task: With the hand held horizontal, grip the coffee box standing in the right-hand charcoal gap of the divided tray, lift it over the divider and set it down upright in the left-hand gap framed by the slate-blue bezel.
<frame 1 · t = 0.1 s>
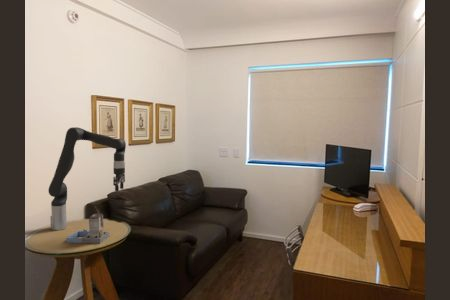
hand: (119, 189, 214), 29 cm above the table, tool pointing down, fingers open, 8 cm apart
divided tray: (89, 239, 199), on the table
coffee box: (96, 239, 198), resting in divided tray
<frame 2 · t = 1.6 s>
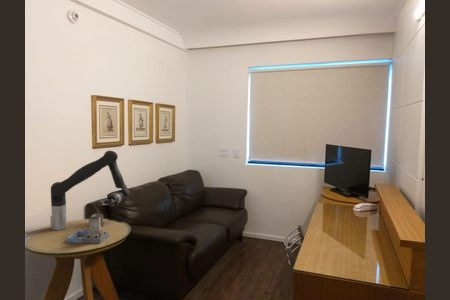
hand: (103, 205, 208), 20 cm above the table, tool horizontal, fingers open, 8 cm apart
nothing on the table moved.
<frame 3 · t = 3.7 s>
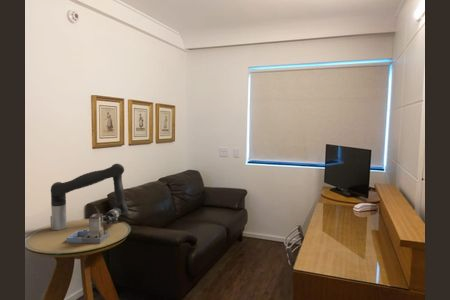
hand: (101, 222, 204), 9 cm above the table, tool horizontal, fingers open, 8 cm apart
nothing on the table moved.
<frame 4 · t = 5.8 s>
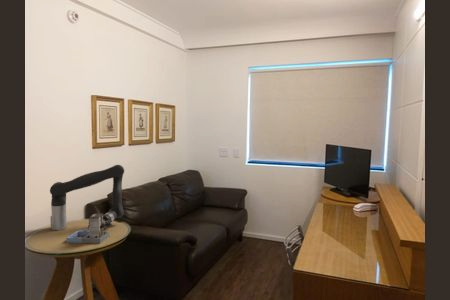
hand: (94, 227, 195), 9 cm above the table, tool horizontal, fingers closed on coffee box, 7 cm apart
coffee box: (96, 239, 198), resting in divided tray, touching gripper
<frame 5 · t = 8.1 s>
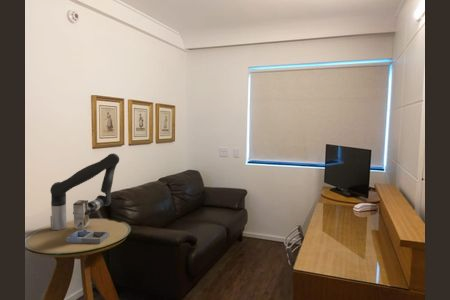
hand: (79, 213, 195), 18 cm above the table, tool horizontal, fingers closed on coffee box, 7 cm apart
coffee box: (81, 226, 198), point 8 cm above the table, touching gripper
when the fingers open (10 cm above the table, at t = 10.7 s): coffee box drops 1 cm, resting in divided tray.
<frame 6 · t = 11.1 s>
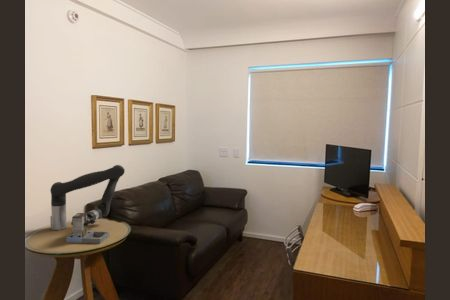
hand: (78, 224, 196), 10 cm above the table, tool horizontal, fingers open, 8 cm apart
coffee box: (80, 239, 199), resting in divided tray
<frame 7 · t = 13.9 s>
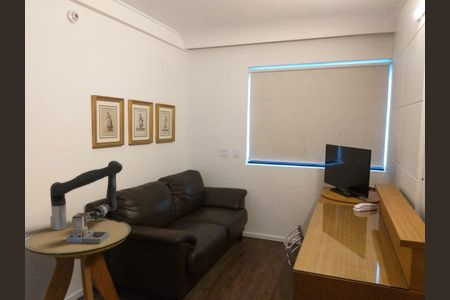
hand: (88, 218, 209), 11 cm above the table, tool horizontal, fingers open, 8 cm apart
nothing on the table moved.
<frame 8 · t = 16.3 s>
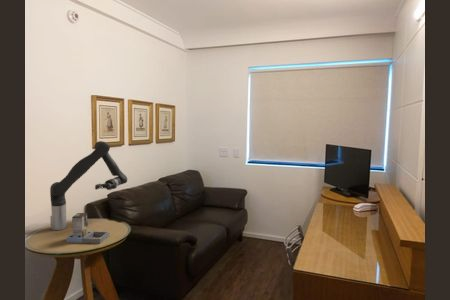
hand: (101, 188, 215), 30 cm above the table, tool horizontal, fingers open, 8 cm apart
nothing on the table moved.
at the end: coffee box 0.1 cm from the target spot, resting in divided tray; coffee box tilted 0°; the gripper is holding nothing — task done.
